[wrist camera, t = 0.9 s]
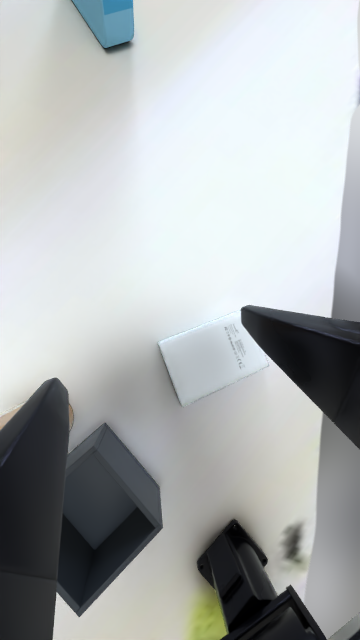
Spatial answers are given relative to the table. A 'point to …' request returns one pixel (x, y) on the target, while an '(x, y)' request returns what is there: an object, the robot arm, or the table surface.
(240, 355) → the hard drive
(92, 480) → the bin
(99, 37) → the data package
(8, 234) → the table surface
